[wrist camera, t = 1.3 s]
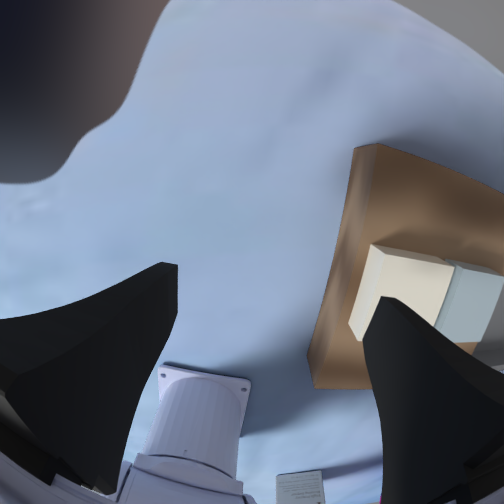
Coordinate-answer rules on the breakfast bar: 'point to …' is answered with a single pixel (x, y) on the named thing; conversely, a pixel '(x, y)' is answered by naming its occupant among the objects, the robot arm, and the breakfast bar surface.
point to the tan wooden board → (398, 243)
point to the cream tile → (400, 284)
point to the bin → (493, 338)
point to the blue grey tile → (468, 302)
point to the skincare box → (300, 488)
